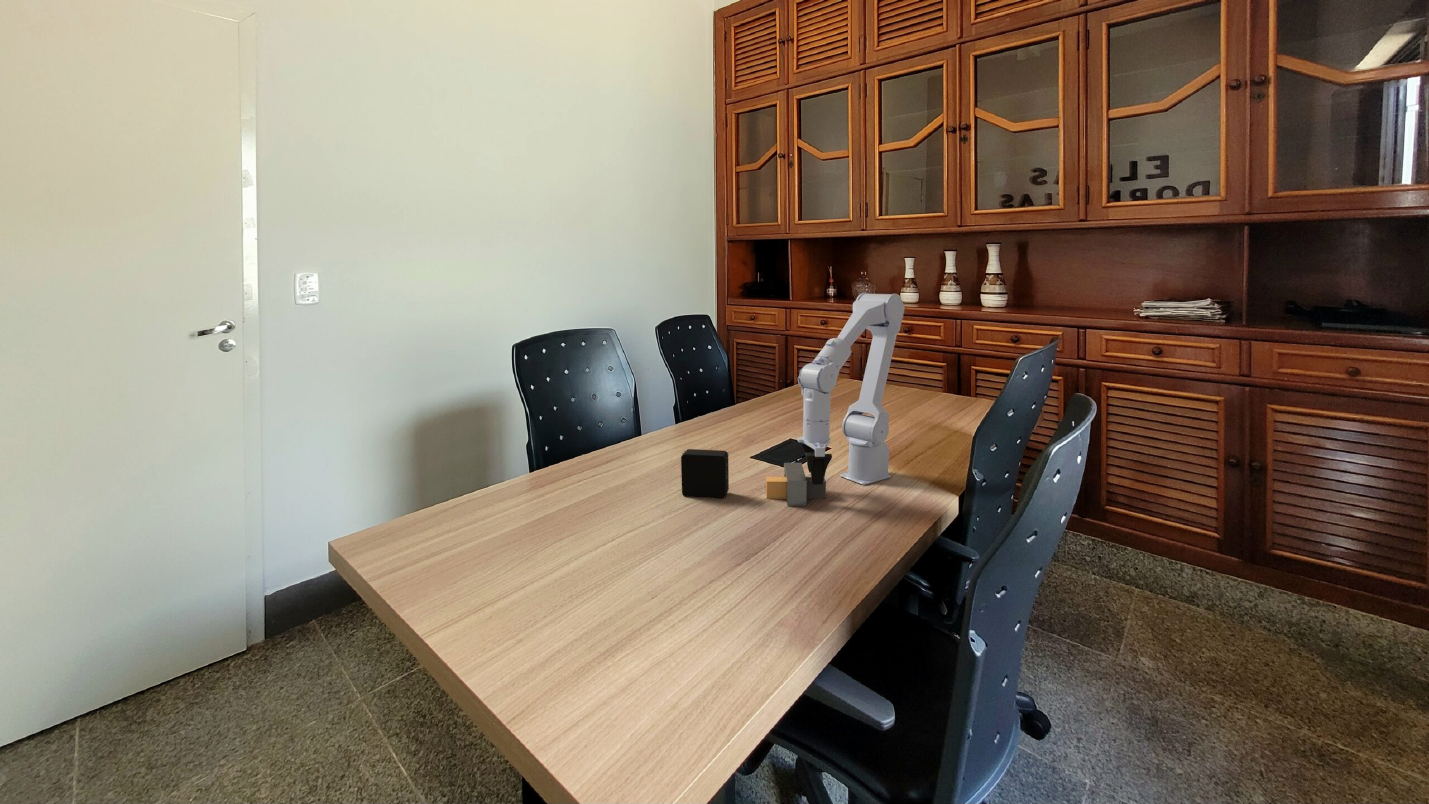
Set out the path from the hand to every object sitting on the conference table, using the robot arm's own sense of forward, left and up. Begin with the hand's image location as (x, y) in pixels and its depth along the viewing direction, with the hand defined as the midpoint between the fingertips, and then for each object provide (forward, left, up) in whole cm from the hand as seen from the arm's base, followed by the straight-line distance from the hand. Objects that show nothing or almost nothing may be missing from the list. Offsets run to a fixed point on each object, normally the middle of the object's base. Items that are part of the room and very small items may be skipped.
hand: (815, 477), depth 136 cm
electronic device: (+20, -15, -5) cm, 25 cm away
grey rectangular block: (+4, -3, -4) cm, 6 cm away
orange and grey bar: (+4, -2, -4) cm, 6 cm away
